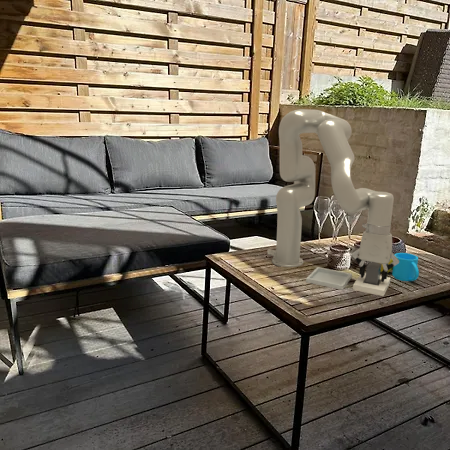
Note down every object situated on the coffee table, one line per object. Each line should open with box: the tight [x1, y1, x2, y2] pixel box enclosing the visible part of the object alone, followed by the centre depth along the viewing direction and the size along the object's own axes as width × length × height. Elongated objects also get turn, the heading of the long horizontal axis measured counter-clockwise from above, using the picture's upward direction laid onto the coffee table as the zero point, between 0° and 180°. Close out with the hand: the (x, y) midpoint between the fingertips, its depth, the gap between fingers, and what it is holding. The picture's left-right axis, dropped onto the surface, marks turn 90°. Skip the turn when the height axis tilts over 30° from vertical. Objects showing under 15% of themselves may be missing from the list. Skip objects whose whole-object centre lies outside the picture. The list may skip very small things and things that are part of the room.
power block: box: [352, 272, 392, 297], centre depth 146 cm, size 10×13×3 cm
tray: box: [305, 266, 353, 291], centre depth 151 cm, size 13×13×2 cm
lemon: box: [379, 259, 393, 274], centre depth 158 cm, size 6×6×8 cm
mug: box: [391, 252, 420, 282], centre depth 153 cm, size 12×8×8 cm
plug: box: [365, 262, 382, 286], centre depth 145 cm, size 4×5×8 cm
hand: (372, 278), depth 145 cm, fingers open, 6 cm apart
